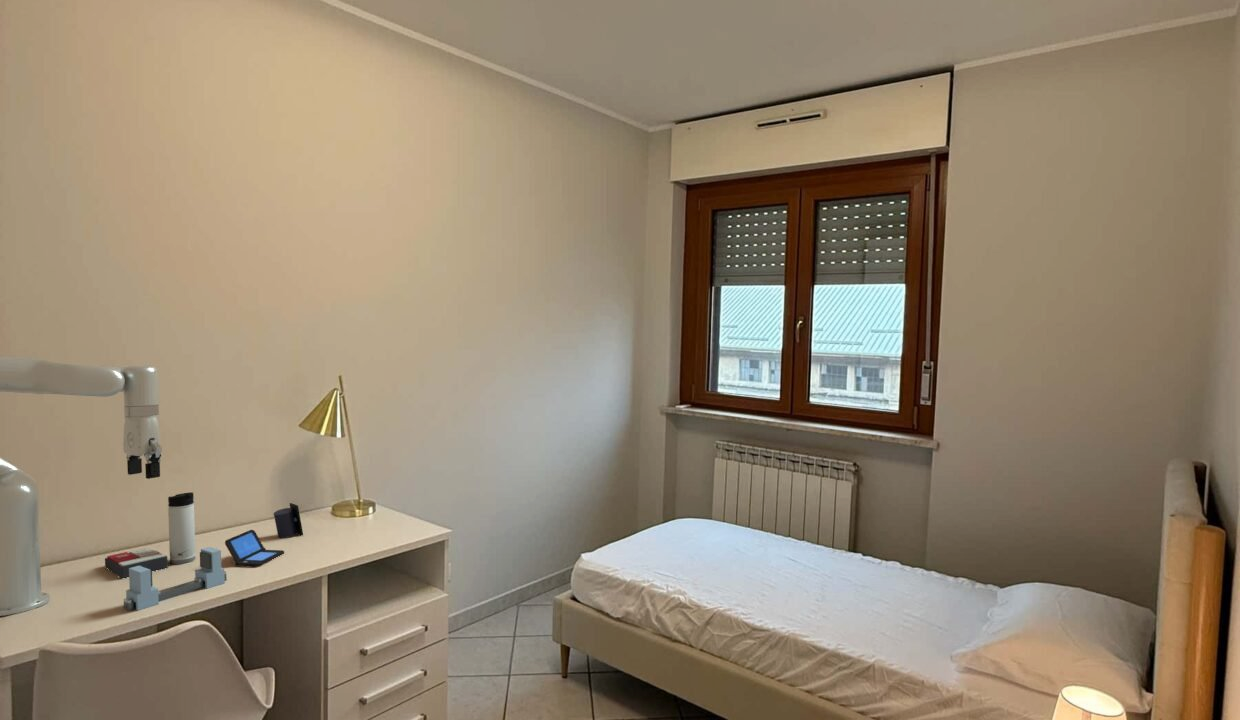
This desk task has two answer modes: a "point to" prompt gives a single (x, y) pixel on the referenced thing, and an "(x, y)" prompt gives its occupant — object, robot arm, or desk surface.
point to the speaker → (288, 521)
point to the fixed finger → (142, 588)
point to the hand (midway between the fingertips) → (143, 475)
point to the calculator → (135, 561)
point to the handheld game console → (250, 550)
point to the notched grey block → (210, 567)
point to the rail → (172, 592)
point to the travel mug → (181, 528)
